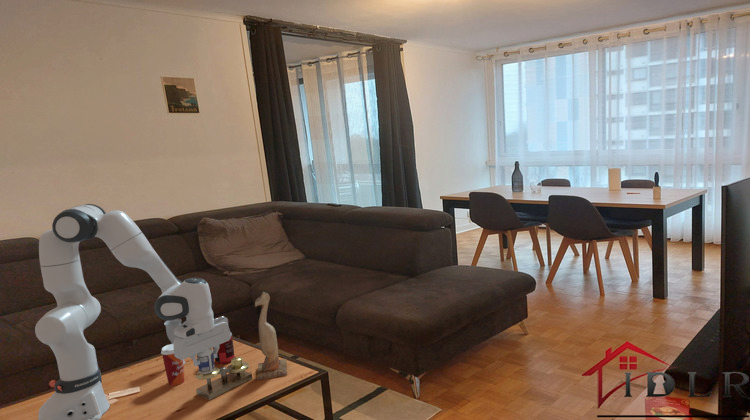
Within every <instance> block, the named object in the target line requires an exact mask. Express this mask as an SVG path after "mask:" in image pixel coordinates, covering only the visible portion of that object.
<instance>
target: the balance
mask: <svg viewBox="0 0 750 420" xmlns="http://www.w3.org/2000/svg"><path fill="white" fill-rule="evenodd" d="M243 360H244V359H243V357H242V356H236V357H235V358H233V359H231V362H230V364H229V365H228V366H227V367H226V366H221V367H220V368H219V367H217V366H215V370H214V371H213V372H211V373H208V374H201V373H199V370H198V371H197V372H196V374H195V378H196V379H197V380H206V384H203V385H202V386H199V387H198V388H196V390H195V391H196V395H197V396H199V397H201V398H203V399H206V400H208V401H211V400H213V399H215V398H217V397H219V396H220V395H223V394H225V393H227V392H228V391H231V390H232V389H233V390H234V389H235V388H237V387H238V386H241V385H243V384H245V383H247V382H249V381H251V380H252V379H253V374H252V373H251V372H249V371H247V370H248V369H249V367H250V364H249V363H248V362H246V361H243ZM218 375H220V377H219V378H216V379H214V380H212V378H215V377H217V376H218Z"/></svg>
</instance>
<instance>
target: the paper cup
mask: <svg viewBox="0 0 750 420" xmlns="http://www.w3.org/2000/svg"><path fill="white" fill-rule="evenodd" d="M160 354H161V355H162V360H163V364H164V368H165V370H164V371H165V373H166V374H165V375H166V378H167V383H168V385H169V386H171V387H173V386H179V385H182V384H183V383H185V369H184V367H185V365H184V364H183V360H180V359H178V358H176V357H175V355H174V346H173V344H172V343H171V344H166V345H165V346H163V347H162V348H161V352H160Z"/></svg>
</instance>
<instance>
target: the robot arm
mask: <svg viewBox="0 0 750 420" xmlns="http://www.w3.org/2000/svg"><path fill="white" fill-rule="evenodd" d="M51 224H52V225H51V226H52V227H51V229H49V230H46V231H45V232H43V233H42V234H41V235H40V237H39V241H38V258H39V265H40V271H41V277H42V284H43V287H44V289H45V290H46V291H47V292H48V293H51V294H52V295H53V297H54V298H55V301H56V304H57V306H56V307H54V308H53V309H51V310H49V311H47V312H46V313H45V314H44V315H43V316H42V317H41V318H39V320H38V321H37V322H36V324H35V327H34V333H35V336H36V338H37V339H38V340H39V342H41V343H43V344H45V345H47V346H48V347H50V349H51V351H52V352H53V354H54V357H55V358H56V362H57V368H58V373H59V374H58V375H59V379H58V380H55V379H52V380H50V381H49V383H48V385H49V386H50V387H51V388H54V393H52V395H50V397H49V398H48V399H47V400H46V401H45V402H44V403H43V404H42V405H41V406H40V408H39V410H38V420H100V419H101V417H102V416H103V415H104V414H105V413H106V412H107V411H108V410H109V408H110V402H109V401H108V399H107V396H106V394H105V391H104V389H103V381H102V372H101V368H100V367H99V364H98V361H97V354H96V353H97V352H96V349H95V347H94V345H92V344H91V343H89V342H88V341H87V339H86V338H85V335H84V330H86V329H87V328H88V327H89V326H91V325H92V324H93V323H94V322H95V321H96V320H97V319H98V318H99V315H100V314H101V311H102V308H101V307H102V306H101V304H100V301H99V300H98V299H97V298H96V297H95V296H92V294H91V293H90V291H89V289H88V287H87V285H86V283H85V280H84V273H83V268H82V262H81V257H80V251H79V246H80V242H83V241H86V240H93V239H95V238H99V239H100V240H102V241H103V242H104V243H105V245H106V246H107V247H108V249H109V251H110V252H111V254H112V255H113V256H114V257H115V259H116V260H117V261H119V262H120V263H121V264H122V265H123V266H126V267H128V268H137V269H140V270H143V271H144V272H146V273H147V274H148V275H149V276H150V278H151V279H152V280H153V281H154V282H155V284H156V285H157V286H158V287H159V288H160V290H161V295H159V297H158V298H157V300H156V301H155V302H154V307H153V308H154V313H155V315H156V316H157V317H158V318H160V319H161V320H163V321H165V322H166V321H171V320H175V319H182V318H184V317H185V318H186V319H185V321H183V322H182V323H181V325H180V326H178V327H177V328H176V329H174V335H176V337H175V339H174V343H173V346H174V355H175V357H176V358H178V359H180V360H183V359H184V360H185V359H187V358H190V359H191V360H192V361H193V366H194V367H198V365H200V360H198V359H197V354H198V353H200V352H202V351H204V349H205V346H207V345H209V349H210V348H211V349H212V350H213V356H214V360H215V358H217V352H218V350H219V344H222V343H224V342H227V341H229V340H230V338H231V334H230V332H231V330H230V328H229V319H228V317H226V316H224V315H223V316H219V317H217V318H214V311H213V309H212V303H213V302H212V295H211V291H210V289H211V288H210V285H209V283H208V281H206V280H205V279H204V278H202V277H190V278H186V279H184V280H183V281H181V279H178V277H176V275H175V274H174V273H173V271H172V270H171V269H170V268H169V267H168V265H167V263H165V262H164V261H163V259H162V257H160V256H159V254H158V253H157V252H156V251H155V249H154V247H153V246H152V244H151V243H150V242H149V240H148V238H147V237H146V236H145V234H144V233H143V232H142V230H141V229H140V228H139V226H138V225H137V224H136V222H135V221H134V220H133V219H132V218H131V217H130V216H129V215H128V214H127V213H126V212H125V211H122V210H119V209H117V210H110V211H108V212H106V210H104V209H103V208H102V207H101V206H99V205H97V204H94V203H93V204H92V203H85V204H81V205H79V204H78V205H76V206H73V207H70V208H68V209H65V210H63V211H61V212H59V213H58V214H57V215H56V216H55V217H54V219H53V221H52V223H51ZM213 348H214V349H213Z"/></svg>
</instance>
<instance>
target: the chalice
mask: <svg viewBox="0 0 750 420" xmlns="http://www.w3.org/2000/svg"><path fill="white" fill-rule="evenodd" d="M182 321H183V320H182V318H179V319H175V320H171V321H166V320H165V322H164V323H163V324H164V326H165V331H166V332H165V333H166V335H167V338H168V340H169V341H170V343H171V344H173V343H174V339H175V337H176V335H174V329H176V328H177V327H178V326H180V325H181V324H182ZM185 364H186V361H185V359H183V365H185Z"/></svg>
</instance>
